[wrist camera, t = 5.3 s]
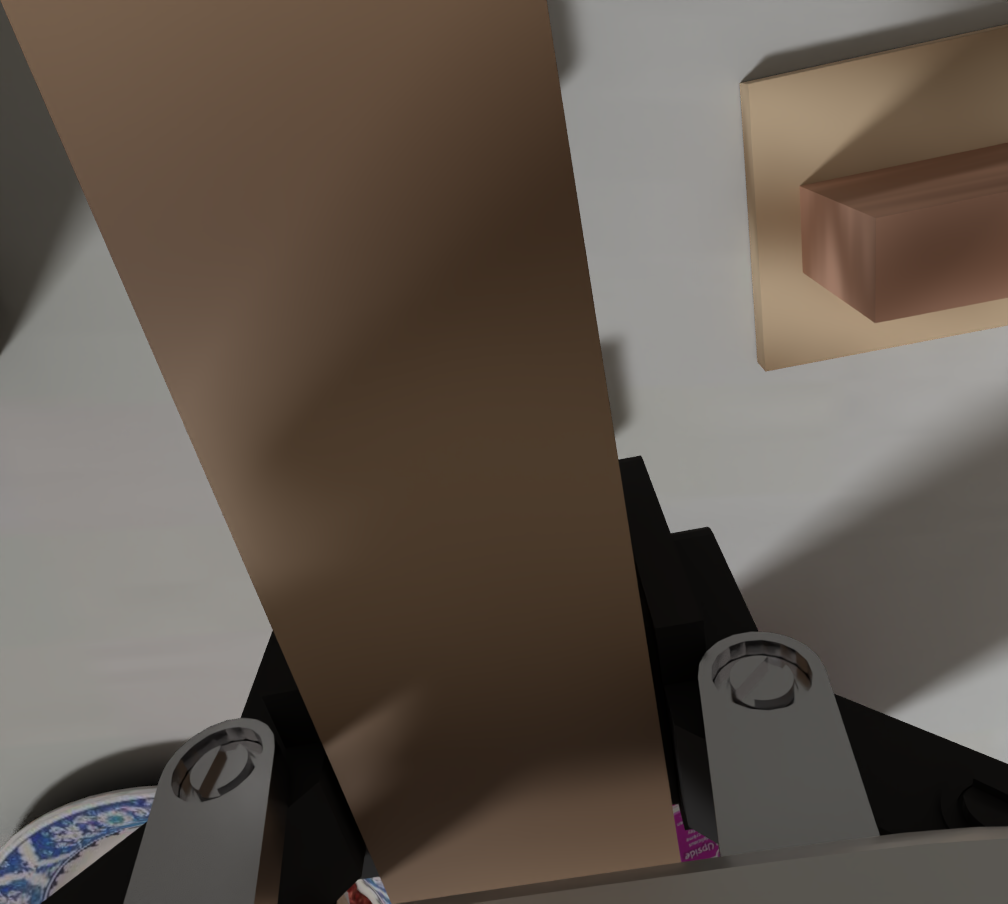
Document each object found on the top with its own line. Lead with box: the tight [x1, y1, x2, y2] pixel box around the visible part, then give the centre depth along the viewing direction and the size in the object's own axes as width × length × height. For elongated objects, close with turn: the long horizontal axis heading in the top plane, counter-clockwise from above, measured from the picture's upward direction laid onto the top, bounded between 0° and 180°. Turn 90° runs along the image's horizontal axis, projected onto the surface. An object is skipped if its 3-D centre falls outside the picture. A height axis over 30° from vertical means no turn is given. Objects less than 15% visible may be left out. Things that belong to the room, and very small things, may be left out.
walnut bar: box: [0, 0, 681, 904], centre depth 10 cm, size 18×4×4 cm, turn 12°
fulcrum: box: [740, 24, 1008, 371], centre depth 25 cm, size 10×10×7 cm
